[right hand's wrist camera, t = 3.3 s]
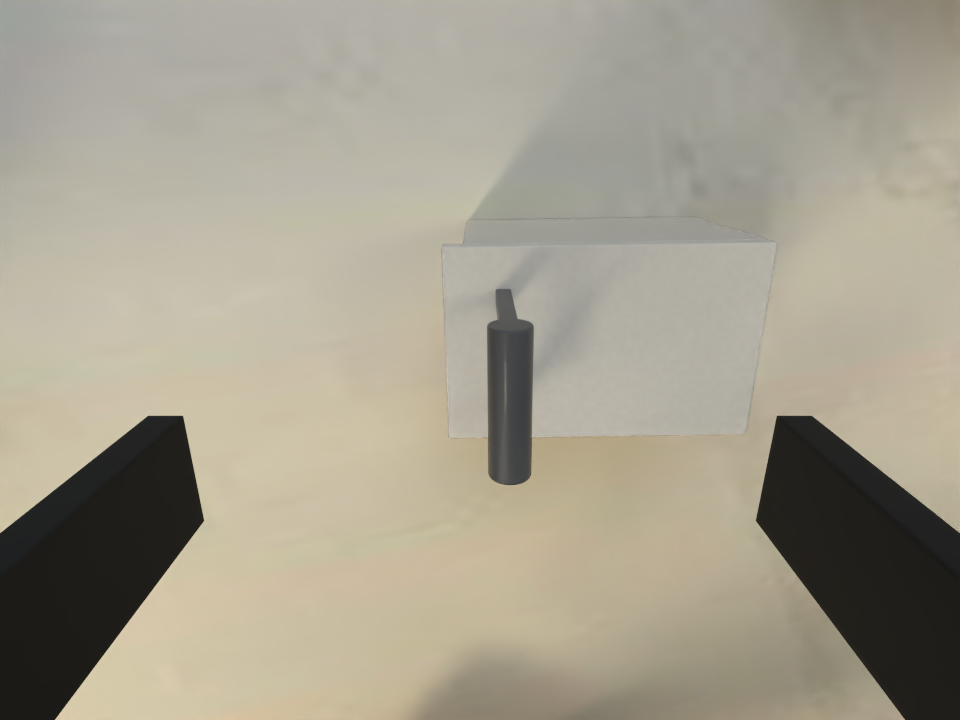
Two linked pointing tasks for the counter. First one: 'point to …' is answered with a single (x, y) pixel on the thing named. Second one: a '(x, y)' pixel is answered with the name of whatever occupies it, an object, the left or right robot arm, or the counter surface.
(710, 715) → the counter surface
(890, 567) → the right robot arm
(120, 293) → the counter surface
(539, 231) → the white cabinet body
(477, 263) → the lid
